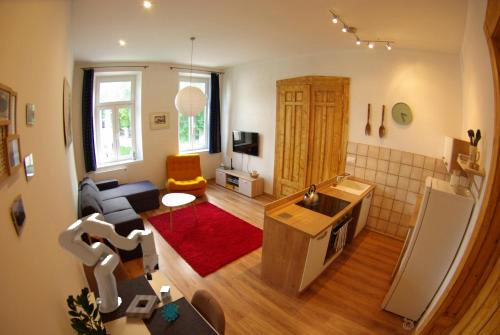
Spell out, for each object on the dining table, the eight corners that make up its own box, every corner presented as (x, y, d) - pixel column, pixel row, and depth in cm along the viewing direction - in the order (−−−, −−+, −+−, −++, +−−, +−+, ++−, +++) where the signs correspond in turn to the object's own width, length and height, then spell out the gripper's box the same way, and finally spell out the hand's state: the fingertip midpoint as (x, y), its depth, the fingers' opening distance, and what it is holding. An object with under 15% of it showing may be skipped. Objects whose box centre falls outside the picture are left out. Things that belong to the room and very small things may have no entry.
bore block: (126, 317, 151) (125, 312, 150) (137, 300, 165) (136, 295, 164) (149, 318, 151) (148, 312, 150) (158, 300, 165) (157, 295, 164)
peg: (161, 300, 165) (160, 290, 164) (163, 295, 170) (163, 286, 168) (168, 300, 165) (167, 291, 163) (170, 295, 169) (169, 286, 168)
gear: (166, 324, 145) (160, 306, 149) (162, 326, 148) (156, 309, 152) (182, 314, 154) (176, 298, 157) (178, 317, 157) (172, 301, 160)
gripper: (149, 242, 162) (153, 266, 166) (136, 258, 145) (140, 284, 149) (161, 242, 161) (164, 266, 165) (148, 258, 145) (153, 284, 149)
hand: (153, 274), depth 157 cm, fingers open, 9 cm apart
